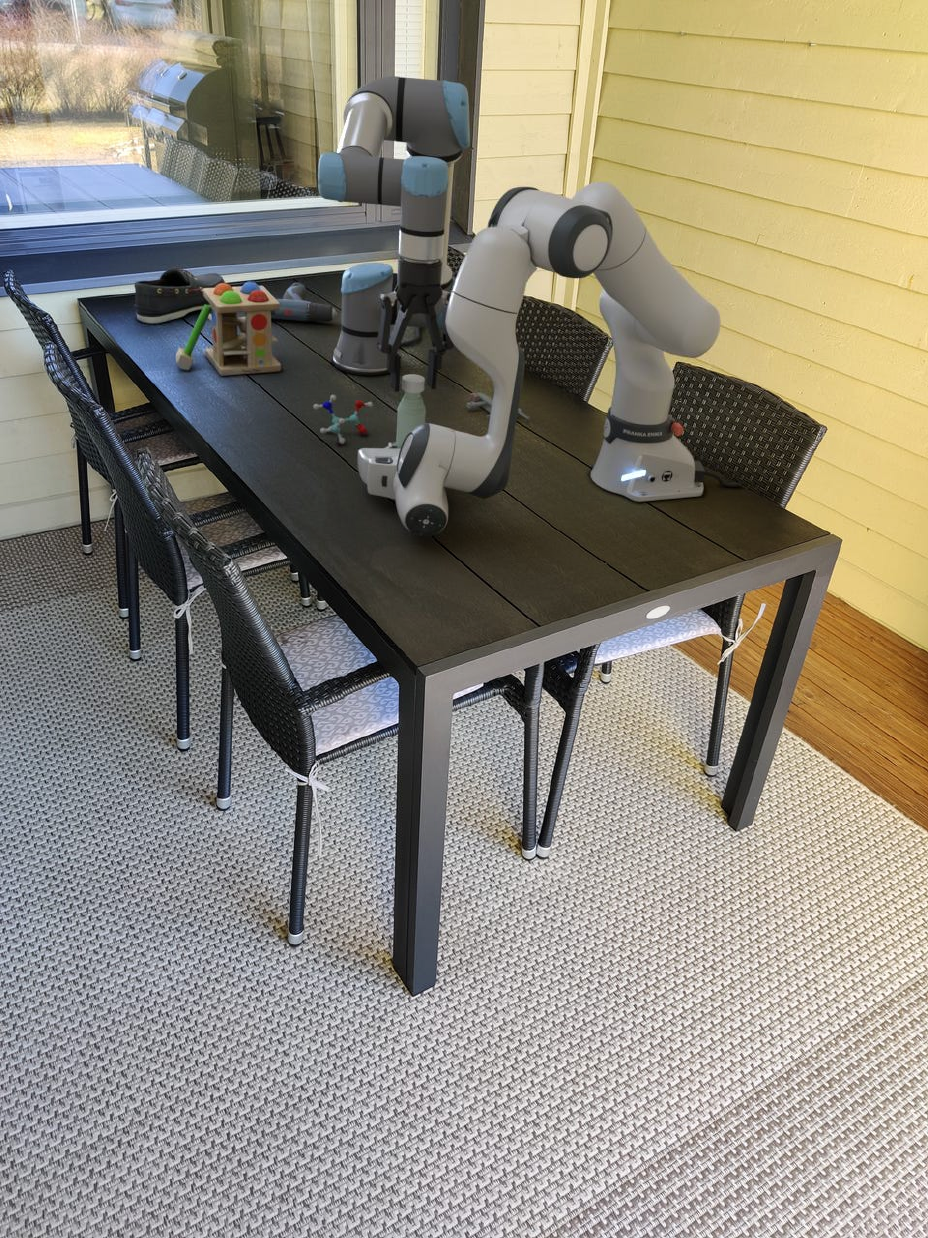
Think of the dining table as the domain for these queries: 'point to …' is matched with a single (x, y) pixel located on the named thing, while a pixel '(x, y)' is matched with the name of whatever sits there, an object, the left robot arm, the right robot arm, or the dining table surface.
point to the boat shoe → (172, 295)
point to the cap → (413, 383)
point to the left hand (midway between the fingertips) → (413, 387)
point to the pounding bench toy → (229, 347)
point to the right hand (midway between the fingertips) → (408, 446)
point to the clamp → (485, 403)
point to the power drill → (301, 307)
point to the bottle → (409, 415)
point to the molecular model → (338, 421)
